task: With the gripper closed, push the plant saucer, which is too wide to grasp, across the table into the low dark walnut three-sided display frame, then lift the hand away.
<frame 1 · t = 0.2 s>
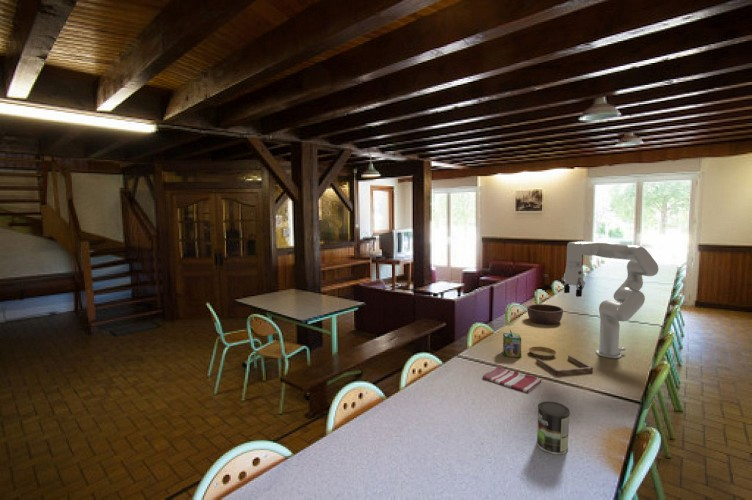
hand: (572, 294, 216), 36 cm above the table, tool pointing down, fingers open, 9 cm apart
chalk box: (511, 354, 225), on the table
plant saucer: (542, 355, 224), on the table
coffee can: (552, 446, 137), on the table
wooden bowl: (544, 321, 293), on the table
display frame: (562, 366, 207), on the table
dish towel: (512, 381, 191), on the table
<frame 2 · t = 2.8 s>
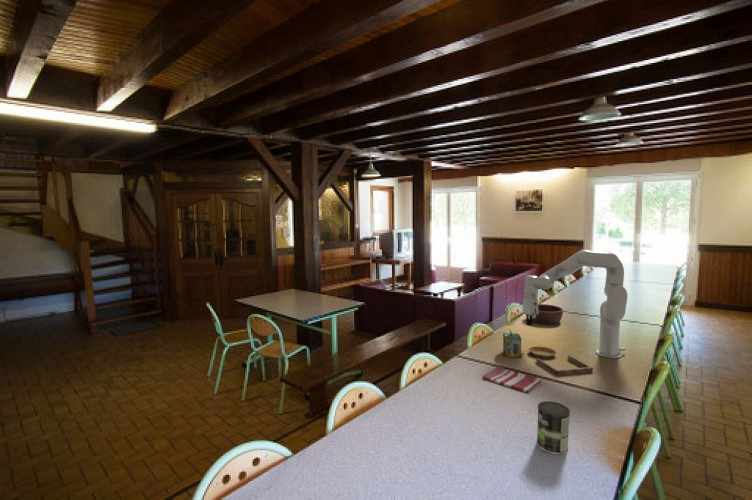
hand: (529, 325, 236), 14 cm above the table, tool pointing down, fingers closed
nothing on the table moved.
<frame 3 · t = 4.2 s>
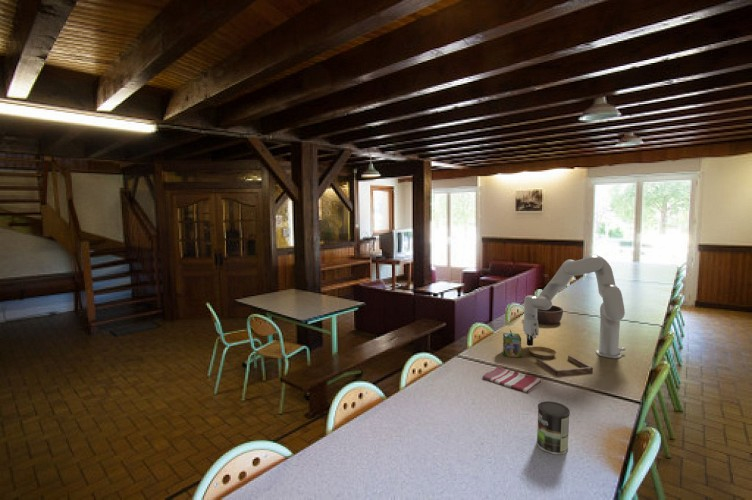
hand: (529, 345, 237), 1 cm above the table, tool pointing down, fingers closed
nothing on the table moved.
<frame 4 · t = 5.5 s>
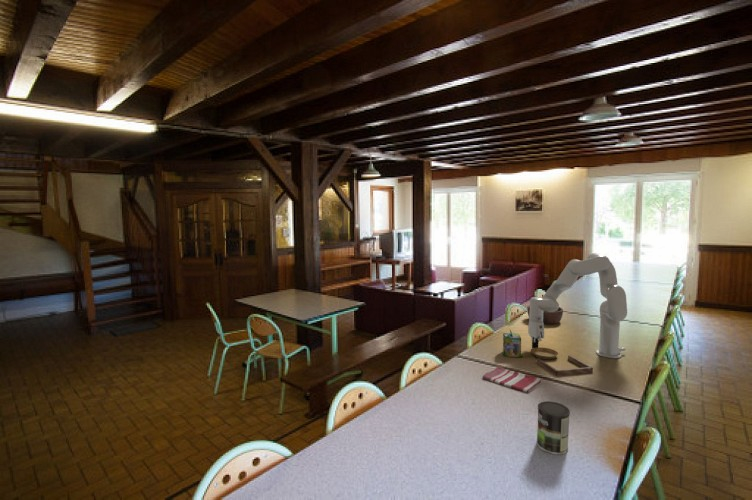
hand: (535, 348, 231), 2 cm above the table, tool pointing down, fingers closed
plant saucer: (544, 356, 222), on the table, touching gripper
everything else where it was.
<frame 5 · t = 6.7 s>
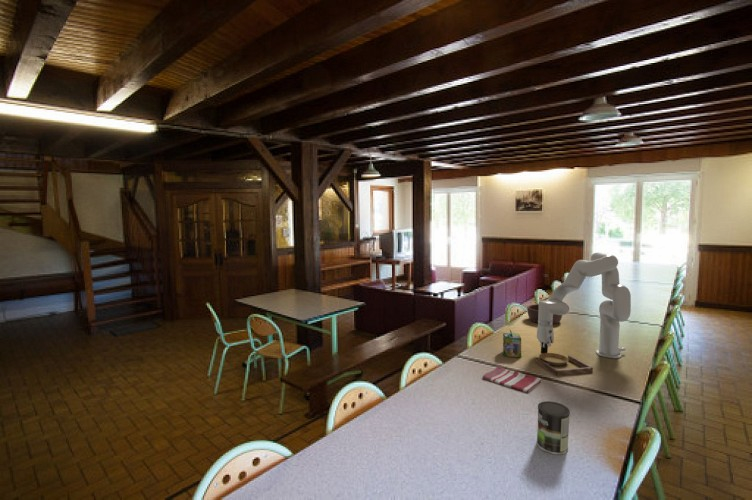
hand: (544, 353, 222), 1 cm above the table, tool pointing down, fingers closed
plant saucer: (553, 362, 214), on the table
everything else where it was.
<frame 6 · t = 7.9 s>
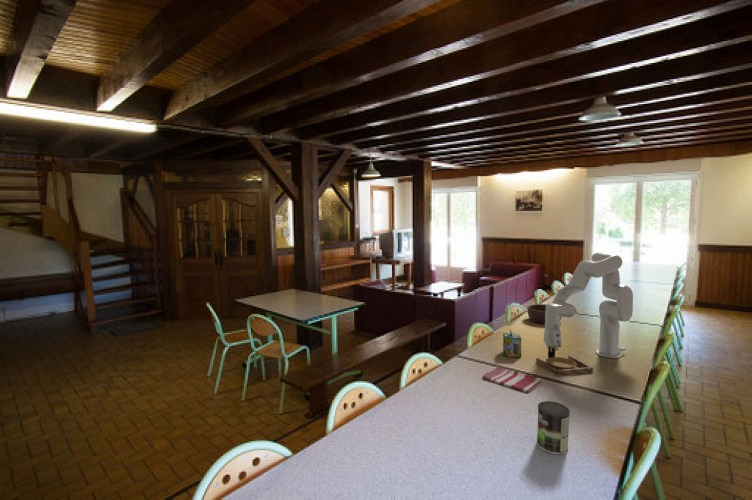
hand: (551, 357, 216), 1 cm above the table, tool pointing down, fingers closed
plant saucer: (560, 366, 207), on the table
everything else where it was.
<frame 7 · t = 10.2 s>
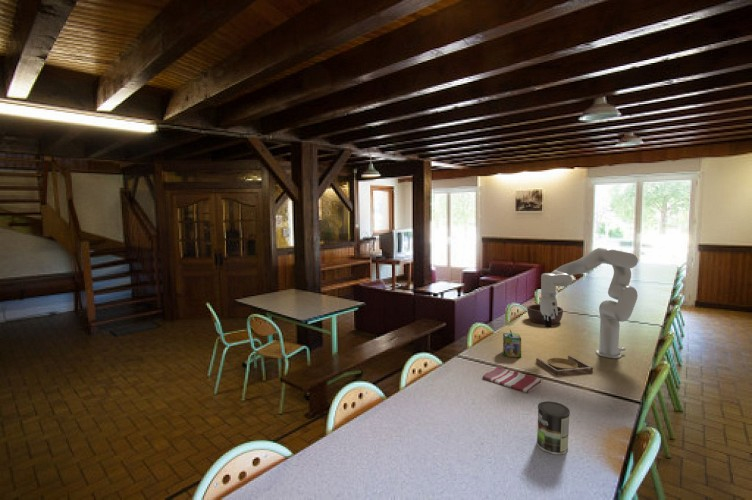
hand: (548, 326, 219), 18 cm above the table, tool pointing down, fingers closed
nothing on the table moved.
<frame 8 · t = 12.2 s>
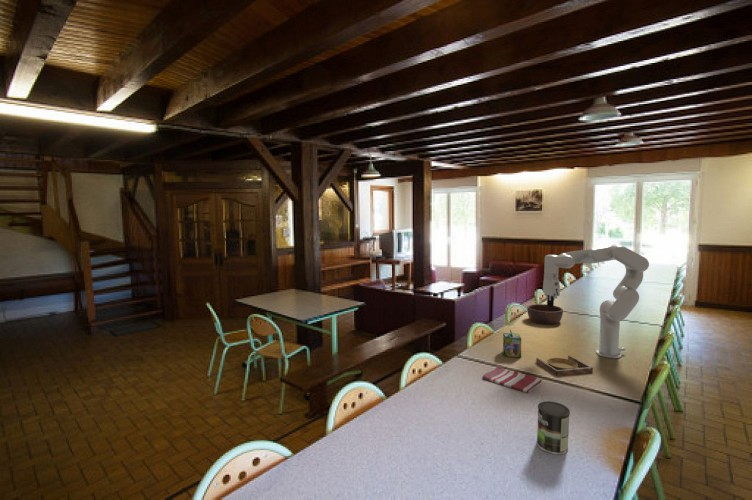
hand: (550, 306, 227), 27 cm above the table, tool pointing down, fingers closed
nothing on the table moved.
at the end: plant saucer inside the target area on the display frame (0.6 cm from its centre), point -0.5 cm above the display frame's base; plant saucer tilted 0°; the gripper is holding nothing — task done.
